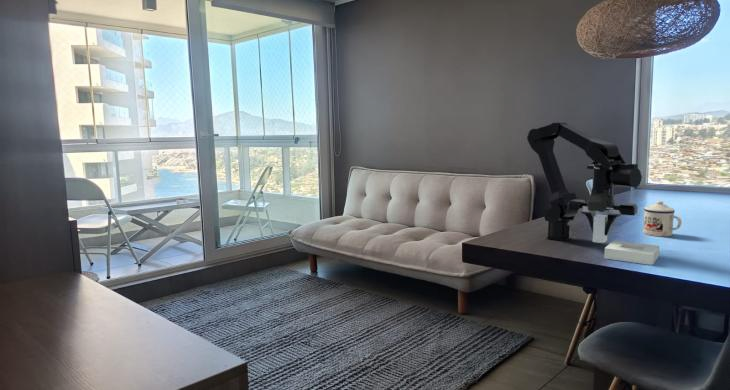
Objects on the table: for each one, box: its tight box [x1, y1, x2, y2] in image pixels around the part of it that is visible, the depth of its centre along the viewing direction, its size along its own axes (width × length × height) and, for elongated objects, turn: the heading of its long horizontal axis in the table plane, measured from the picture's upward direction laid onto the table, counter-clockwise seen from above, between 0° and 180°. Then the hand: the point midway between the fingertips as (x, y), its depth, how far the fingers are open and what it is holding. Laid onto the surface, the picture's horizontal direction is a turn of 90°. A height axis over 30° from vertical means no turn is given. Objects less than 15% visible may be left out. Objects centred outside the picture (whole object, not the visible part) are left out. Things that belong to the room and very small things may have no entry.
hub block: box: [603, 239, 660, 266], centre depth 136 cm, size 12×12×3 cm
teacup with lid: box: [642, 200, 683, 238], centre depth 163 cm, size 12×9×12 cm
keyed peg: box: [592, 213, 608, 244], centre depth 147 cm, size 3×5×8 cm
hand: (600, 234), depth 147 cm, fingers closed on keyed peg, 3 cm apart
